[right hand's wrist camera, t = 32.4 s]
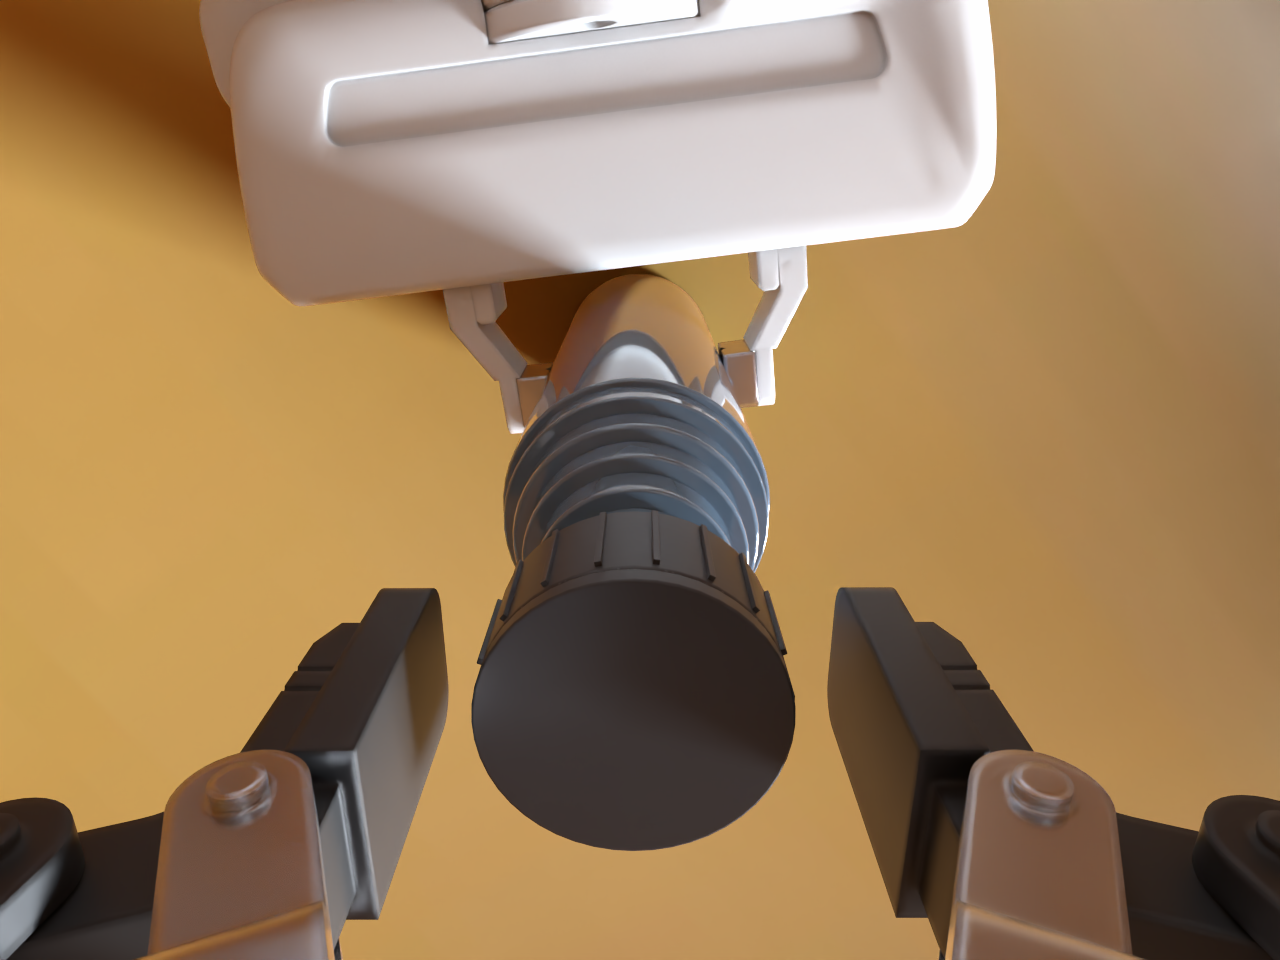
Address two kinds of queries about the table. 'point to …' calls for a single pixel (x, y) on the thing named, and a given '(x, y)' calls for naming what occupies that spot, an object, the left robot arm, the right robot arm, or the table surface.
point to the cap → (633, 684)
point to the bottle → (637, 426)
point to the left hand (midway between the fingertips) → (643, 414)
